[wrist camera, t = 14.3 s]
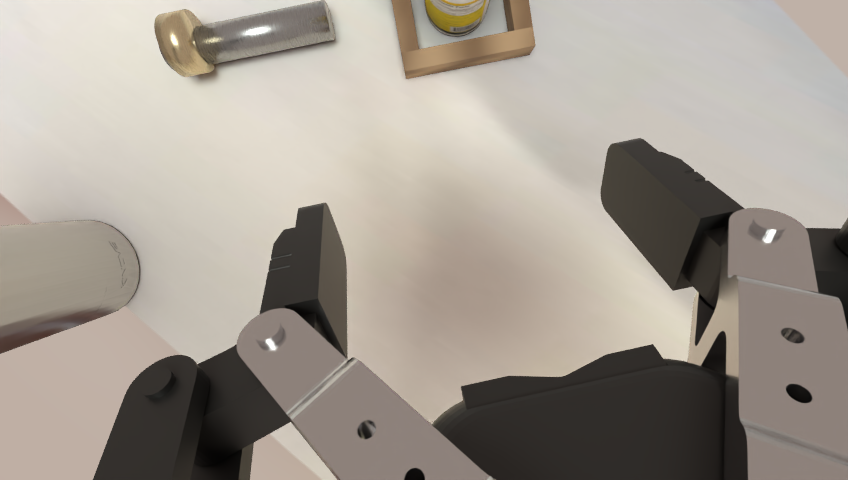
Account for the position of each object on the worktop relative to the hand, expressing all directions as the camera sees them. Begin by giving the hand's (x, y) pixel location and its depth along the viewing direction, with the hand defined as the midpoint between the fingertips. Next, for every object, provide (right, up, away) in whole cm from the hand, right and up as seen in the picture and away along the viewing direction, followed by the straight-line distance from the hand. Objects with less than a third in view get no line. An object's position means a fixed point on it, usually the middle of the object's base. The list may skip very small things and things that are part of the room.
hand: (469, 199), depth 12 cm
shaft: (-16, +16, +25) cm, 34 cm away
